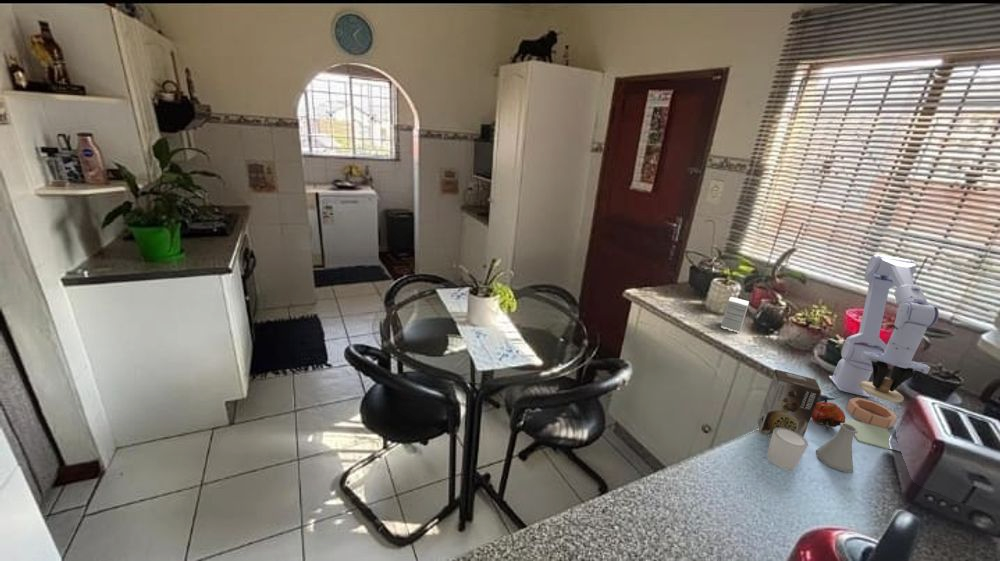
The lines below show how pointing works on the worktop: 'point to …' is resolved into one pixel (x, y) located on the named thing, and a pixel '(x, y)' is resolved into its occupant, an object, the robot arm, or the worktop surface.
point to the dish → (871, 413)
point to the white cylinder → (786, 448)
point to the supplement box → (735, 313)
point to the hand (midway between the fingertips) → (882, 387)
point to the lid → (882, 390)
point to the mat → (870, 434)
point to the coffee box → (788, 403)
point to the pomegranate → (828, 414)
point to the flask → (839, 449)
